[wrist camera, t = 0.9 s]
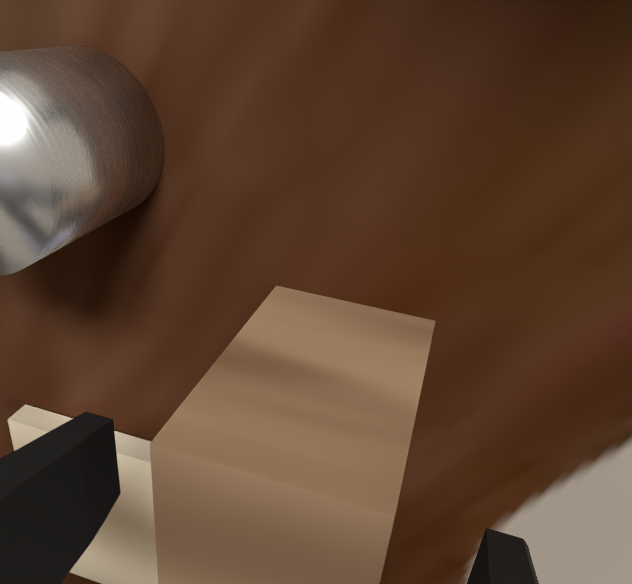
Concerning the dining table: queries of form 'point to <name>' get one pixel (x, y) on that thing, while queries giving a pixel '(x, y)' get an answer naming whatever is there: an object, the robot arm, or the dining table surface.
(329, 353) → the walnut block
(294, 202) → the dining table surface
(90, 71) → the round canister
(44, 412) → the birch pad
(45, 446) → the robot arm
